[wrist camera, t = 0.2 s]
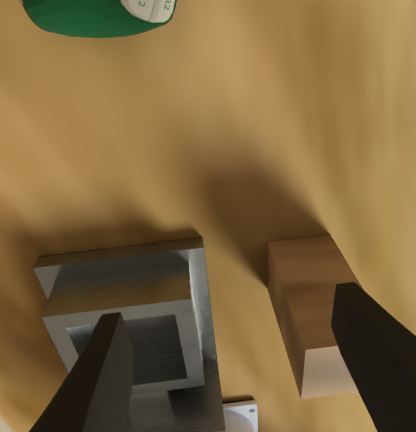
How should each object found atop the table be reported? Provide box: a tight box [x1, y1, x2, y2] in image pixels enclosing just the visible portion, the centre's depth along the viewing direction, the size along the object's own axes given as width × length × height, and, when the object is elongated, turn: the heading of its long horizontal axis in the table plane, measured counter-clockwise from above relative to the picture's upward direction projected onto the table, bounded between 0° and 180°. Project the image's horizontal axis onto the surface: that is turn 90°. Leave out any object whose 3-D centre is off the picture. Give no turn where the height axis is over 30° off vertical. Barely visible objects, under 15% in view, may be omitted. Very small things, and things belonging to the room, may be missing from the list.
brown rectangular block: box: [267, 235, 363, 399], centre depth 21 cm, size 4×4×8 cm
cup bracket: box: [33, 237, 226, 432], centre depth 24 cm, size 12×10×6 cm
